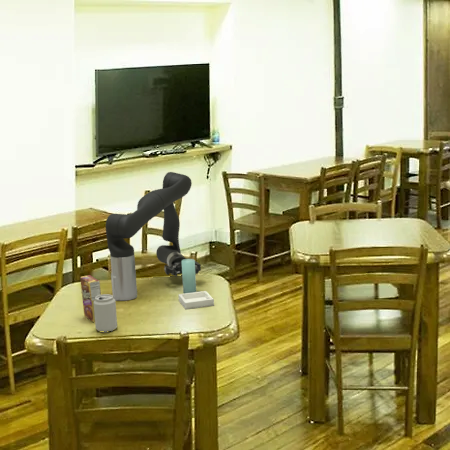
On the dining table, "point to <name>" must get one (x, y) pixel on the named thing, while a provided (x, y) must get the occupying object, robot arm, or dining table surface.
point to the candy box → (89, 295)
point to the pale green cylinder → (188, 276)
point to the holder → (196, 300)
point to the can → (105, 313)
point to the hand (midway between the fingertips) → (186, 272)
